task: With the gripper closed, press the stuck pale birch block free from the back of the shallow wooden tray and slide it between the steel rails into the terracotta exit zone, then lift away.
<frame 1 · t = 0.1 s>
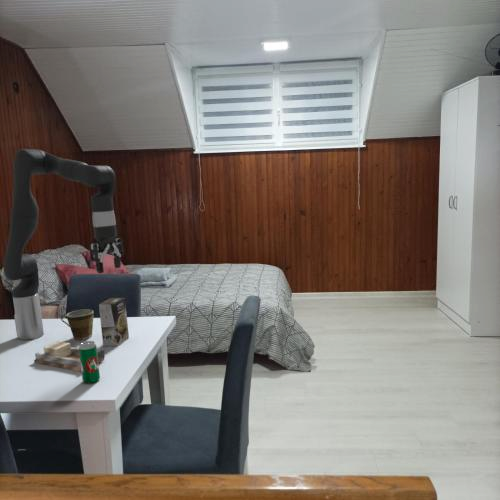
hand: (109, 270, 157), 29 cm above the table, tool pointing down, fingers open, 8 cm apart
coffee box: (116, 342, 170), on the table
soda can: (91, 381, 137), on the table
ceramic cup: (79, 338, 177), on the table
shallow wooden tray: (69, 361, 154), on the table
birch block: (57, 350, 155), point 3 cm above the table, slide at 0.0 cm
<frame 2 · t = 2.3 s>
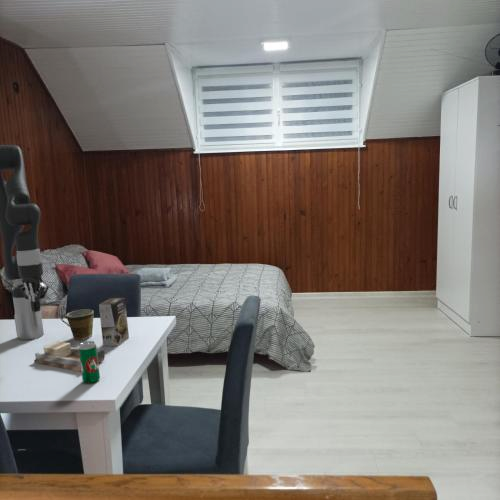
hand: (36, 311, 156), 17 cm above the table, tool pointing down, fingers closed
nothing on the table moved.
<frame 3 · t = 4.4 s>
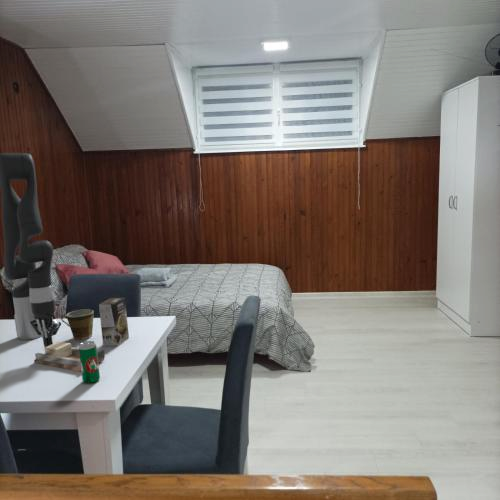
hand: (48, 347, 157), 4 cm above the table, tool pointing down, fingers closed
birch block: (58, 350, 155), point 3 cm above the table, slide at 0.4 cm, touching gripper
everything else where it was.
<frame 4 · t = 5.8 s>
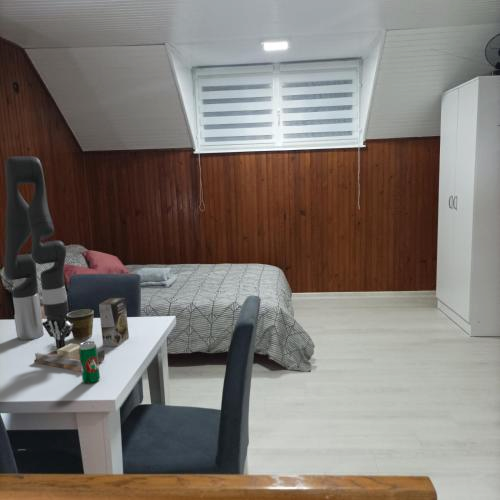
hand: (61, 349, 154), 4 cm above the table, tool pointing down, fingers closed
birch block: (71, 353, 152), point 3 cm above the table, slide at 6.4 cm, touching gripper
everything else where it was.
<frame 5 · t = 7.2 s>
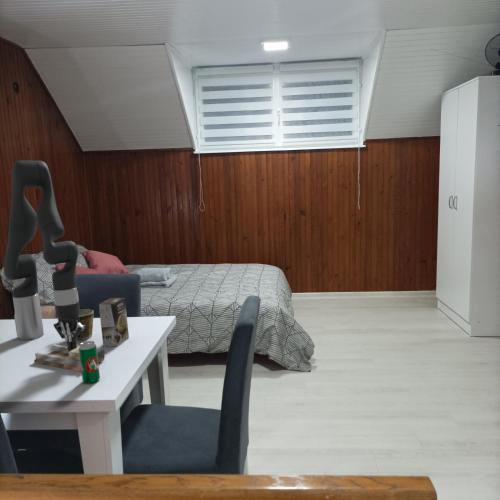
hand: (72, 350, 152), 4 cm above the table, tool pointing down, fingers closed
birch block: (82, 355, 150), point 3 cm above the table, slide at 11.7 cm, touching gripper
everything else where it was.
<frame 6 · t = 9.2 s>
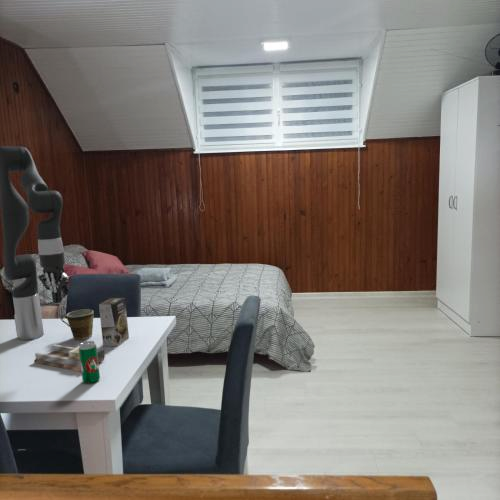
hand: (57, 302, 151), 21 cm above the table, tool pointing down, fingers closed
birch block: (82, 355, 150), point 3 cm above the table, slide at 11.7 cm
everything else where it was.
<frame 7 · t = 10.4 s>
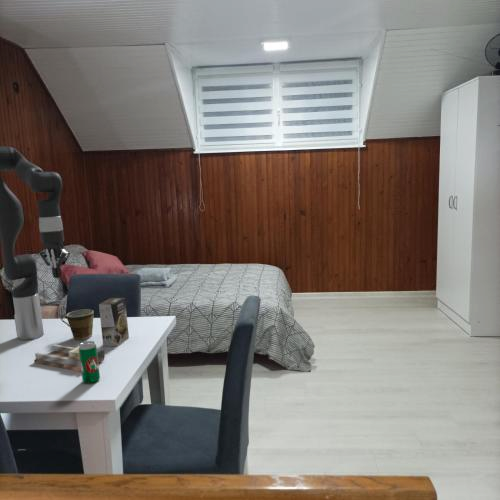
hand: (57, 277, 160), 27 cm above the table, tool pointing down, fingers closed
nothing on the table moved.
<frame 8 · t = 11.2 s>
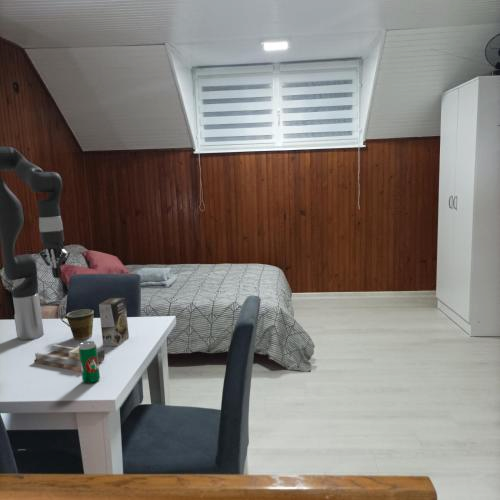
hand: (57, 277, 160), 27 cm above the table, tool pointing down, fingers closed
nothing on the table moved.
at the end: birch block slide at 11.7 cm; birch block 1.0 cm from the target spot, resting on shallow wooden tray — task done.
